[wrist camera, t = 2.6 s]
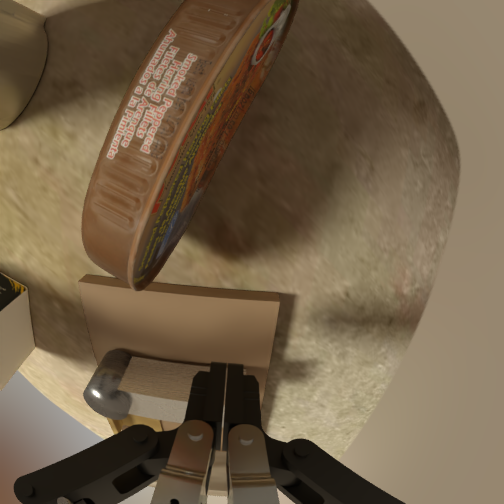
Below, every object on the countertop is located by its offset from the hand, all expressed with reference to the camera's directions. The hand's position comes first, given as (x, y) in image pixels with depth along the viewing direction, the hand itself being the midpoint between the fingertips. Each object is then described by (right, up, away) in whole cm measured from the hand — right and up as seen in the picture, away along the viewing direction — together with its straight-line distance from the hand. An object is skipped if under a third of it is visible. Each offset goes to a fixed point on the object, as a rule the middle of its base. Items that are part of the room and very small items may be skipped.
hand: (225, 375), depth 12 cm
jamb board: (-5, -6, +8) cm, 11 cm away
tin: (-1, +13, +2) cm, 13 cm away
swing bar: (-5, -3, +6) cm, 8 cm away
